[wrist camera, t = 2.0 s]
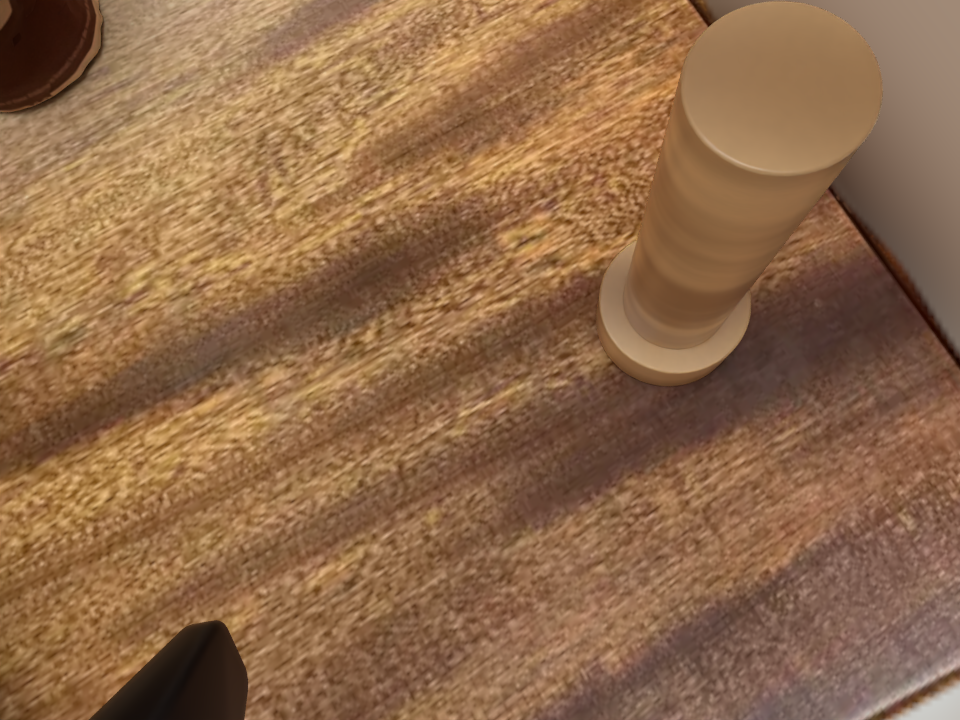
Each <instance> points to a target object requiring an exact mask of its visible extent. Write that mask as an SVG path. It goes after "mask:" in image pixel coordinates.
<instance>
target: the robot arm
mask: <svg viewBox="0 0 960 720" xmlns="http://www.w3.org/2000/svg"><path fill="white" fill-rule="evenodd" d="M247 693H248V677H247V672H246V668H245V666H244V663H243V661H242V659H241V657H240V655H239V652H238V650H237V648H236V646H235V644H234V641H233V639H232V637H231V635H230V633H229V630H228V629H227V627H226V625H225V624H224V623H223V622H221V621H217V620H214V621H208V622H203V623H197V624H192V625H189V626H187V627H185V628H184V629H182V630H181V631H180V632H179V633H178V634H177V635H176V636H175V637H174V638H173V639H172V640H171V641H170V642H169V643H168V644H167V645H166V646H165V647H164V648H163V649H162V650H161V651H159V652H158V653H157V654H156V655H155V656H154V657H153V658H152V659H151V660H150V661H149V662H148V663H147V664H146V665H145V666H144V667H143V668H142V669H141V670H140V671H139V672H138V673H137V674H136V675H135V676H134V677H133V678H132V679H131V680H130V681H128V682H127V683H126V684H125V685H124V686H123V687H122V688H121V689H120V690H119V691H118V692H117V693H116V694H115V695H114V696H113V697H112V698H111V699H110V700H109V701H108V702H107V703H106V704H105V705H104V706H103V707H102V708H101V709H100V710H99V711H98V712H96V713H95V714H94V715H93V716H92V717H91V718H90V719H89V720H244V717H245V709H246V701H247Z"/></svg>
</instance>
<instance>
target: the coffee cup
mask: <svg viewBox="0 0 960 720" xmlns="http://www.w3.org/2000/svg"><path fill="white" fill-rule="evenodd" d="M102 23H103V16H102V15H101V14H100V11H99V1H98V0H0V112H13V111H18V110H22V109H25V108H28V107H32V106H35V105H37V104H39V103H41V102H43V101H45V100H47V99H49V98H51V97H53V96H55V95H56V94H57V93H59V92H60V91H61V90H63V89H64V88H65V87H67V86H68V85H69V84H71V83H72V82H74V81H75V80H76V79H77V78H79V77H80V76H81V75H82V73H83V71H84V69H85V68H86V66H87V65H88V64H89V62H90V61H91V60H92V59H93V57H94V56H95V55H96V54H97V53H98V50H99V48H100V47H101V32H100V30H101V25H102Z"/></svg>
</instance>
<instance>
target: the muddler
mask: <svg viewBox="0 0 960 720" xmlns="http://www.w3.org/2000/svg"><path fill="white" fill-rule="evenodd" d="M882 96H883V88H882V77H881V72H880V68H879V65H878V62H877V60H876V57H875V55H874V53H873V52H872V50H871V48H870V46H869V45H868V44H867V42H866V41H865V39H864V38H863V37H862V36H861V35H860V34H859V33H858V32H857V31H856V30H855V29H854V28H853V27H852V26H851V25H849V24H848V23H847V22H845V21H844V20H843V19H841V18H839V17H838V16H836V15H835V14H833V13H830V12H828V11H826V10H824V9H821V8H818V7H815V6H812V5H809V4H804V3H799V2H791V1H770V2H761V3H756V4H752V5H748V6H745V7H742V8H739V9H737V10H734V11H733V12H731V13H728V14H726V15H725V16H723V17H722V18H720V19H719V20H717V21H715V22H714V23H713V24H712V25H711V26H709V27H708V28H707V29H706V30H705V31H704V32H703V33H702V34H701V35H700V36H699V37H698V39H697V40H696V41H695V43H694V44H693V46H692V47H691V49H690V51H689V53H688V55H687V57H686V59H685V62H684V65H683V68H682V71H681V75H680V79H679V82H678V86H677V90H676V94H675V98H674V101H673V105H672V109H671V113H670V117H669V120H668V124H667V128H666V132H665V136H664V139H663V143H662V147H661V151H660V155H659V158H658V162H657V166H656V170H655V174H654V177H653V181H652V185H651V189H650V193H649V196H648V200H647V204H646V208H645V211H644V215H643V219H642V223H641V227H640V230H639V234H638V238H637V240H636V241H634V242H632V243H631V244H629V245H628V246H626V247H625V248H624V249H623V250H622V251H620V252H619V253H618V254H617V256H616V257H615V258H614V259H613V260H612V262H611V263H610V265H609V266H608V268H607V270H606V272H605V274H604V276H603V279H602V282H601V286H600V291H599V297H598V303H597V310H596V326H597V332H598V336H599V339H600V342H601V344H602V346H603V348H604V350H605V352H606V353H607V355H608V356H609V358H610V359H611V360H612V361H613V362H614V363H615V364H616V365H617V366H618V367H619V368H620V369H621V370H622V371H624V372H625V373H626V374H628V375H630V376H631V377H633V378H635V379H637V380H640V381H642V382H645V383H648V384H652V385H658V386H679V385H684V384H688V383H691V382H694V381H697V380H699V379H701V378H703V377H705V376H706V375H708V374H709V373H711V372H712V371H713V370H714V369H715V368H717V367H718V366H719V365H720V364H721V363H722V362H723V361H724V359H725V358H726V357H727V356H728V355H729V354H730V353H731V352H732V351H733V350H734V349H735V347H736V346H737V345H738V344H739V342H740V341H741V339H742V337H743V336H744V334H745V331H746V329H747V327H748V323H749V320H750V314H751V294H750V288H751V287H752V285H753V284H754V283H755V281H756V280H757V279H758V278H759V276H760V275H761V274H762V272H763V271H764V270H765V269H766V267H767V266H768V265H769V263H770V262H771V261H772V260H773V258H774V257H775V256H776V254H777V253H778V252H779V251H780V249H781V248H782V247H783V245H784V244H785V243H786V242H787V240H788V239H789V238H790V236H791V235H792V234H793V233H794V231H795V230H796V229H797V227H798V226H799V225H800V224H801V222H802V221H803V220H804V218H805V217H806V216H807V215H808V213H809V212H810V211H811V209H812V208H813V207H814V205H815V204H816V203H817V202H818V200H819V199H820V198H821V196H822V195H823V194H824V193H825V191H826V190H827V189H828V187H829V186H830V185H831V184H832V182H833V181H834V180H835V178H836V177H837V176H838V175H839V173H840V172H841V171H842V169H843V168H844V167H845V166H846V164H847V163H848V162H849V160H850V159H851V158H852V156H853V155H854V154H855V153H856V151H857V150H858V149H859V148H860V146H861V145H862V144H863V142H864V141H865V140H866V139H867V137H868V135H869V134H870V132H871V131H872V129H873V128H874V126H875V123H876V121H877V119H878V116H879V113H880V109H881V105H882Z"/></svg>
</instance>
